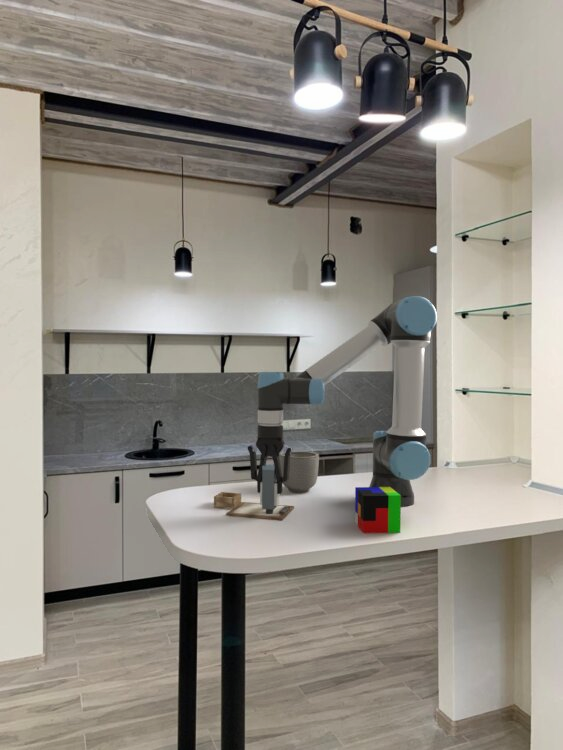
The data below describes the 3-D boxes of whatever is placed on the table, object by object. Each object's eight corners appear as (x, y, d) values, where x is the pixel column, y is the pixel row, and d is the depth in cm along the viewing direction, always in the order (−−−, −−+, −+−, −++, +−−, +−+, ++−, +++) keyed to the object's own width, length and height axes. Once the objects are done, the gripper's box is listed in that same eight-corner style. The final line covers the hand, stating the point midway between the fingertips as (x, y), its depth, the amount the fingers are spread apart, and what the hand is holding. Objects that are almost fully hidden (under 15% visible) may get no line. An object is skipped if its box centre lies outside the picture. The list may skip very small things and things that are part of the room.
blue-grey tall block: (277, 511, 162) (277, 464, 162) (273, 514, 159) (274, 466, 158) (265, 510, 163) (265, 463, 163) (261, 513, 160) (262, 465, 159)
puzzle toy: (355, 522, 155) (355, 487, 154) (389, 522, 155) (390, 486, 155) (363, 533, 145) (363, 495, 144) (400, 532, 145) (400, 495, 145)
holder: (241, 503, 174) (241, 493, 174) (234, 509, 167) (234, 498, 167) (221, 502, 175) (221, 491, 175) (213, 507, 169) (213, 496, 169)
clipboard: (294, 507, 169) (294, 503, 169) (282, 520, 156) (282, 515, 156) (242, 503, 174) (242, 499, 174) (226, 515, 160) (226, 510, 160)
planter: (272, 493, 188) (273, 455, 188) (287, 485, 201) (287, 449, 201) (311, 497, 183) (311, 458, 183) (323, 488, 196) (324, 452, 196)
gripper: (300, 424, 162) (300, 503, 162) (247, 422, 166) (246, 499, 167) (294, 426, 155) (294, 509, 155) (239, 424, 159) (238, 505, 159)
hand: (269, 504), depth 161 cm, fingers closed on blue-grey tall block, 3 cm apart
